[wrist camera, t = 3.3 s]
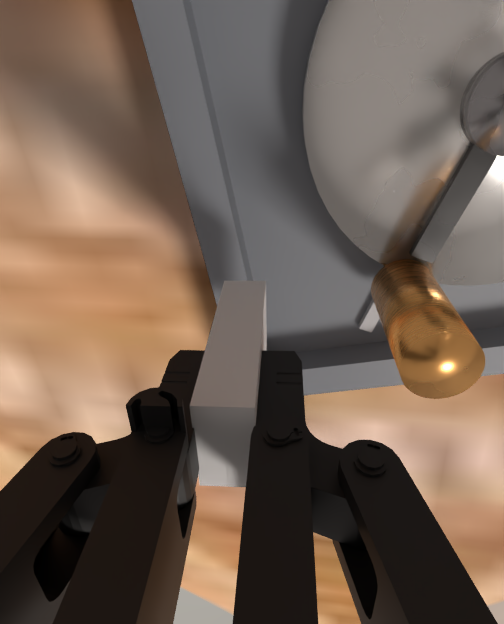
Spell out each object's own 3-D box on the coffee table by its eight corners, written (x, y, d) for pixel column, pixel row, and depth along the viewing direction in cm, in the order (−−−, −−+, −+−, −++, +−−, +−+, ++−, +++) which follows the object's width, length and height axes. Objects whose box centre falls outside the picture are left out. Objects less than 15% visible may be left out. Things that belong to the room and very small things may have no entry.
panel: (89, -243, 12) (45, -309, 10) (1085, -616, 9) (1357, -845, 7) (248, 368, 23) (243, 401, 21) (725, 310, 19) (782, 343, 17)
